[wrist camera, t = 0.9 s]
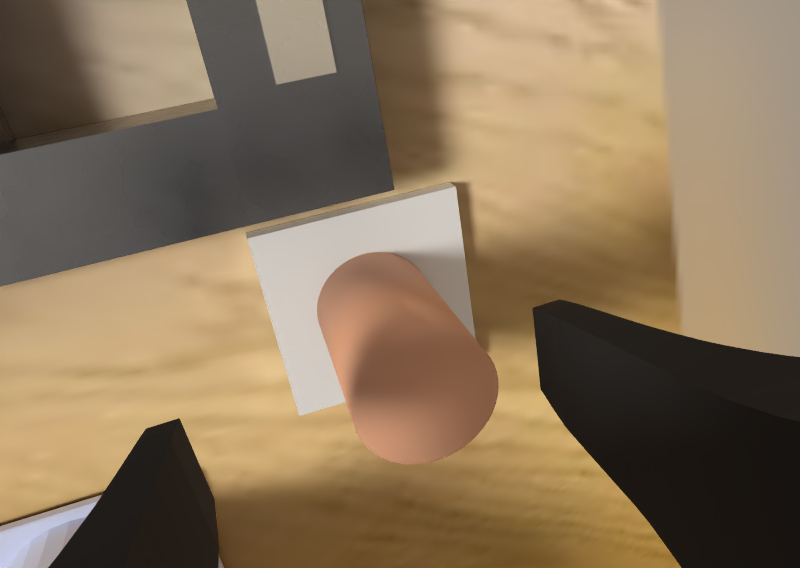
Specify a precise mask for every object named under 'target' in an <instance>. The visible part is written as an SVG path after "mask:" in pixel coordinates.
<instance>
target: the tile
mask: <svg viewBox="0 0 800 568" xmlns="http://www.w3.org/2000/svg"><path fill="white" fill-rule="evenodd" d="M246 235H247V240H248V244H249V247H250V250H251V254H252V257H253V261H254V264H255V267H256V271H257V274H258V277H259V281H260V284H261V288H262V291H263V294H264V298H265V301H266V305H267V308H268V311H269V315H270V318H271V321H272V325H273V328H274V332H275V335H276V338H277V342H278V345H279V349H280V352H281V355H282V359H283V362H284V365H285V369H286V372H287V376H288V379H289V382H290V386H291V389H292V392H293V396H294V399H295V403H296V406H297V409H298V413H299V416H301V415H304V414H308V413H311V412H314V411H318V410H321V409H324V408H327V407H331V406H334V405H337V404H340V403H344V402H346V401H345V398H344V395H343V392H342V389H341V386H340V383H339V380H338V377H337V374H336V372H335V369H334V366H333V363H332V360H331V357H330V354H329V351H328V348H327V345H326V343H325V340H324V337H323V334H322V331H321V328H320V325H319V322H318V317H317V303H318V298H319V294H320V292H321V289H322V287H323V285H324V283H325V282H326V280H327V279H328V277H329V276H330V275H331V274H332V273H333V272H334V271H335V270H336V269H337V268H338V267H339V266H340V265H342V264H343V263H345V262H346V261H348V260H349V259H352V258H354V257H356V256H359V255H362V254H366V253H371V252H387V253H392V254H396V255H399V256H401V257H403V258H405V259H407V260H408V261H410V262H411V263H413V264H414V265H415V266H416V267H417V268H418V269H419V271H420V272H421V273H422V274H423V276H424V277H425V278H426V279H427V280H428V282H429V283H430V284H431V285H432V287H433V288H434V289H435V290H436V291H437V293H438V294H439V295H440V296H441V298H442V299H443V300H444V301H445V302H446V304H447V305H448V306H449V307H450V309H451V310H452V311H453V312H454V314H455V315H456V316H457V317H458V318H459V320H460V321H461V322H462V323H463V325H464V326H465V327H466V328H467V329H468V331H469V332H470V333H471V334H472V336H473V337H474V338H475V331H474V323H473V315H472V307H471V300H470V292H469V284H468V276H467V269H466V261H465V253H464V246H463V238H462V230H461V222H460V215H459V207H458V199H457V191H456V186H454V185H453V184H451V183H450V182H449V183H445V184H441V185H437V186H433V187H429V188H425V189H421V190H417V191H413V192H409V193H405V194H401V195H397V196H393V197H388V198H384V199H380V200H376V201H372V202H368V203H364V204H360V205H356V206H352V207H348V208H344V209H340V210H336V211H332V212H328V213H324V214H320V215H316V216H312V217H308V218H304V219H300V220H296V221H292V222H287V223H283V224H279V225H275V226H271V227H267V228H263V229H259V230H255V231H251V232H247V233H246ZM475 339H476V338H475Z"/></svg>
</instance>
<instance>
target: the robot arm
mask: <svg viewBox="0 0 800 568" xmlns="http://www.w3.org/2000/svg"><path fill="white" fill-rule="evenodd" d="M533 316H534V326H535V337H536V347H537V357H538V367H539V377H540V387H541V390H542V392H543V393H544V395H545V396H546V398H547V400H548V401H549V403H550V404H551V406H552V407H553V409H554V411H555V412H556V413H557V415H558V416H559V418H560V419H561V421H562V422H563V424H564V425H565V427H566V428H567V429H568V430H569V431H570V432H571V434H572V435H573V436H574V437H575V438H576V439H577V441H578V442H579V443H580V444H581V445H582V446H583V447H584V449H585V450H586V451H587V452H588V453H589V454H590V455H591V456H592V458H593V459H594V460H595V461H596V462H597V463H598V464H599V465H600V467H601V468H602V469H603V470H604V471H605V472H606V473H607V474H608V476H609V477H610V478H611V479H612V480H613V481H614V482H615V483H616V485H617V486H618V487H619V488H620V489H621V490H622V491H623V492H624V494H625V495H626V496H627V497H628V498H629V499H630V500H631V501H632V502H633V504H634V505H635V506H636V507H637V508H638V510H639V511H640V512H641V513H642V514H643V516H644V517H645V518H646V519H647V521H648V522H649V523H650V524H651V526H652V527H653V528H654V530H655V531H656V533H657V534H658V535H659V537H660V538H661V540H662V541H663V542H664V544H665V545H666V547H667V548H668V549H669V551H670V552H671V553H672V555H673V556H674V558H675V559H676V560H677V562H678V563H679V565H680V566H681V567H682V568H800V357H794V356H785V355H778V354H771V353H763V352H758V351H753V350H747V349H742V348H736V347H731V346H725V345H720V344H716V343H711V342H707V341H702V340H698V339H694V338H691V337H687V336H683V335H679V334H675V333H671V332H667V331H664V330H660V329H657V328H653V327H650V326H647V325H643V324H640V323H637V322H633V321H630V320H627V319H624V318H621V317H617V316H614V315H611V314H608V313H605V312H602V311H599V310H595V309H592V308H589V307H586V306H582V305H579V304H576V303H572V302H568V301H564V300H557V301H554V302H550V303H547V304H544V305H541V306H538V307H534V308H533ZM0 568H224V566H223V564H222V561H221V559H220V556H219V544H218V532H217V521H216V512H215V503H214V498H213V495H212V493H211V491H210V488H209V486H208V484H207V481H206V479H205V477H204V474H203V472H202V470H201V467H200V465H199V463H198V460H197V458H196V456H195V453H194V451H193V449H192V446H191V444H190V442H189V439H188V437H187V435H186V432H185V430H184V428H183V425H182V423H181V421H180V418H179V419H176V420H173V421H169V422H166V423H163V424H160V425H156V426H153V427H150V428H147V429H146V430H145V431H144V433H143V434H142V435H141V437H140V438H139V440H138V441H137V443H136V444H135V446H134V447H133V449H132V451H131V452H130V454H129V455H128V457H127V458H126V460H125V461H124V463H123V464H122V466H121V468H120V469H119V471H118V472H117V474H116V475H115V477H114V478H113V480H112V481H111V483H110V484H109V486H108V487H107V488H106V490H105V491H104V493H103V494H102V495H99V496H96V497H93V498H90V499H86V500H83V501H80V502H77V503H73V504H70V505H67V506H64V507H61V508H57V509H54V510H51V511H48V512H44V513H41V514H38V515H35V516H32V517H28V518H25V519H22V520H19V521H15V522H12V523H9V524H6V525H3V526H0Z"/></svg>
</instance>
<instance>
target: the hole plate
mask: <svg viewBox="0 0 800 568" xmlns="http://www.w3.org/2000/svg"><path fill="white" fill-rule="evenodd" d="M186 1H187V4H188V8H189V11H190V15H191V18H192V22H193V25H194V29H195V32H196V35H197V39H198V42H199V46H200V49H201V53H202V56H203V60H204V63H205V67H206V70H207V73H208V77H209V80H210V84H211V87H212V91H213V94H214V99H209V100H204V101H199V102H195V103H190V104H185V105H180V106H175V107H170V108H166V109H161V110H156V111H151V112H146V113H141V114H137V115H132V116H127V117H122V118H117V119H113V120H108V121H103V122H98V123H93V124H88V125H84V126H79V127H74V128H69V129H64V130H59V131H55V132H50V133H45V134H40V135H35V136H30V137H26V138H21V139H16V140H14V138H13V135H12V133H11V131H10V129H9V126H8V124H7V122H6V120H5V117H4V115H3V113H2V110H1V108H0V286H4V285H8V284H12V283H16V282H20V281H24V280H28V279H32V278H37V277H41V276H45V275H49V274H53V273H57V272H61V271H65V270H69V269H73V268H77V267H81V266H85V265H89V264H94V263H98V262H102V261H106V260H110V259H114V258H118V257H122V256H126V255H130V254H134V253H138V252H142V251H146V250H151V249H155V248H159V247H163V246H167V245H171V244H175V243H179V242H183V241H187V240H191V239H195V238H199V237H203V236H208V235H212V234H216V233H220V232H224V231H228V230H232V229H236V228H240V227H244V226H248V225H252V224H256V223H260V222H265V221H269V220H273V219H277V218H281V217H285V216H289V215H293V214H297V213H301V212H305V211H309V210H313V209H317V208H322V207H326V206H330V205H334V204H338V203H342V202H346V201H350V200H354V199H358V198H362V197H366V196H370V195H374V194H379V193H383V192H387V191H391V190H394V185H393V179H392V174H391V168H390V162H389V156H388V151H387V145H386V139H385V134H384V128H383V122H382V117H381V111H380V105H379V99H378V94H377V88H376V82H375V77H374V71H373V65H372V60H371V54H370V48H369V42H368V37H367V31H366V25H365V20H364V14H363V8H362V2H361V0H186Z"/></svg>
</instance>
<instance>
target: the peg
mask: <svg viewBox="0 0 800 568" xmlns="http://www.w3.org/2000/svg"><path fill="white" fill-rule="evenodd" d="M317 317H318V322H319V325H320V328H321V331H322V334H323V337H324V340H325V343H326V345H327V348H328V351H329V354H330V357H331V360H332V363H333V366H334V369H335V372H336V374H337V377H338V380H339V383H340V386H341V389H342V392H343V395H344V398H345V401H346V403H347V406H348V409H349V412H350V415H351V418H352V421H353V424H354V427H355V430H356V432H357V434H358V436H359V438H360V440H361V441H362V442H363V444H364V445H365V446H366V447H367V448H368V449H369V450H370V451H371V452H373V453H374V454H376V455H377V456H379V457H381V458H383V459H385V460H388V461H391V462H395V463H400V464H422V463H428V462H432V461H436V460H439V459H442V458H444V457H447V456H449V455H451V454H453V453H455V452H456V451H458V450H459V449H461V448H463V447H464V446H465V445H466V444H468V443H469V442H470V441H471V440H472V439H473V438H475V437H476V436H477V435H478V433H479V432H480V431H481V430H482V429H483V427H484V426H485V424H486V423H487V421H488V420H489V418H490V416H491V414H492V412H493V410H494V407H495V404H496V400H497V396H498V376H497V371H496V369H495V366H494V363H493V362H492V360H491V358H490V357H489V355H488V354H487V353H486V352H485V350H484V349H483V348H482V347H481V345H480V344H479V343H478V342H477V340H476V339H475V338H474V337H473V336H472V334H471V333H470V332H469V331H468V329H467V328H466V327H465V326H464V325H463V323H462V322H461V321H460V320H459V318H458V317H457V316H456V315H455V314H454V312H453V311H452V310H451V309H450V307H449V306H448V305H447V304H446V302H445V301H444V300H443V299H442V298H441V296H440V295H439V294H438V293H437V291H436V290H435V289H434V288H433V287H432V285H431V284H430V283H429V282H428V280H427V279H426V278H425V277H424V276H423V274H422V273H421V272H420V271H419V269H418V268H417V267H416V266H415V265H414V264H413V263H411V262H410V261H408V260H407V259H405V258H403V257H401V256H399V255H396V254H392V253H387V252H371V253H366V254H362V255H359V256H356V257H354V258H352V259H349V260H348V261H346V262H345V263H343V264H342V265H340V266H339V267H338V268H337V269H336V270H335V271H334V272H333V273H332V274H331V275H330V276H329V277H328V279H327V280H326V282H325V283H324V285H323V287H322V289H321V292H320V294H319V298H318V303H317Z"/></svg>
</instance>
